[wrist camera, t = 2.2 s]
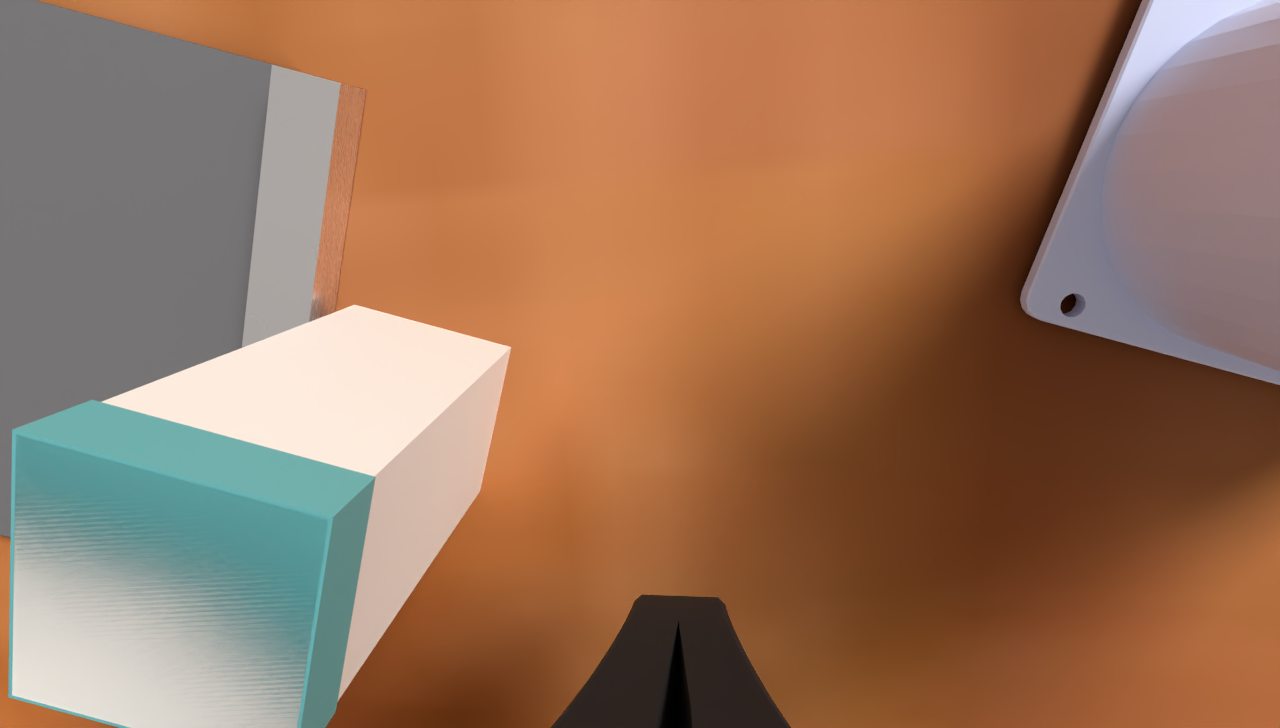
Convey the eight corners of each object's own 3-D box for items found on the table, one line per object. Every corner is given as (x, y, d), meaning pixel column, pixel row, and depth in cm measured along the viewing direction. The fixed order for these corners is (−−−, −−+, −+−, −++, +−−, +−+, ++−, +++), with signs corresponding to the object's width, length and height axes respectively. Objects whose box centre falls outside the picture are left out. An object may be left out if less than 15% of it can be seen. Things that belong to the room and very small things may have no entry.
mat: (296, 70, 16) (288, 69, 16) (235, 591, 20) (229, 597, 19) (-86, -32, 16) (-100, -36, 16) (-73, 506, 20) (-85, 511, 20)
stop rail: (365, 89, 16) (341, 83, 15) (292, 606, 20) (267, 633, 19) (302, 72, 16) (272, 64, 15) (241, 592, 20) (213, 618, 19)
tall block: (513, 346, 17) (334, 516, 9) (481, 492, 18) (293, 775, 10) (352, 302, 17) (11, 429, 9) (330, 451, 18) (8, 697, 10)
